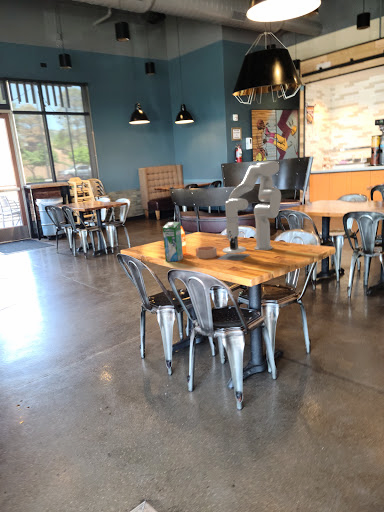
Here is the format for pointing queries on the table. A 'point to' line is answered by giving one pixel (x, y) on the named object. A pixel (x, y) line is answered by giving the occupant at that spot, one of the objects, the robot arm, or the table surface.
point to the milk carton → (173, 241)
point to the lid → (234, 250)
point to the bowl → (206, 252)
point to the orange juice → (183, 240)
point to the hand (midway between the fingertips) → (234, 247)
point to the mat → (234, 256)
